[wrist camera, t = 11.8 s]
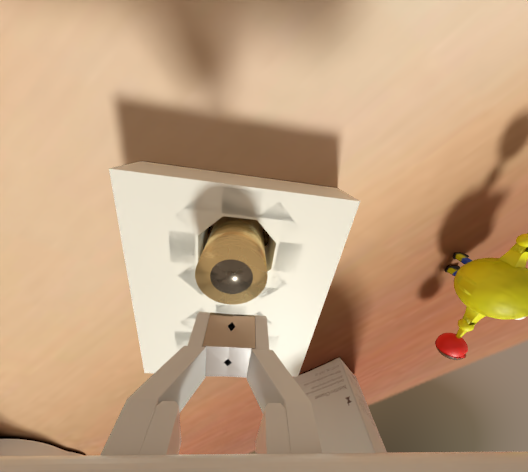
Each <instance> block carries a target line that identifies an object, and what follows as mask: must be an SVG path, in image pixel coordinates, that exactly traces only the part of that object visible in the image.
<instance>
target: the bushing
mask: <svg viewBox="0 0 528 472" xmlns="http://www.w3.org/2000/svg"><path fill="white" fill-rule="evenodd" d="M267 278H268V275H267V265H266V256H265V246H264V237H263V228H262V225H261V224H260V223H259V222H258V221H257V220H253V219H244V218H235V217H226V216H223V217H221V218H220V219H219V220H217V221H216V222H215V224H214V226H213V229H212V231H211V233H210V236H209V238H208V240H207V243H206V245H205V247H204V250H203V252H202V254H201V257H200V259H199V261H198V264H197V266H196V270H195V279H196V283H197V285H198V287H199V289H200V290H201V291H202V292H203V293H204V294H205V295H206V296H207V297H209V298H210V299H212V300H214V301H216V302H219V303H223V304H232V305H234V304H242V303H246V302H248V301H251V300H252V299H254V298H256V297H257V296H258V295H259V294H260V293H261V292H262V291H263V289H264V288H265V286H266V283H267Z"/></svg>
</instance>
